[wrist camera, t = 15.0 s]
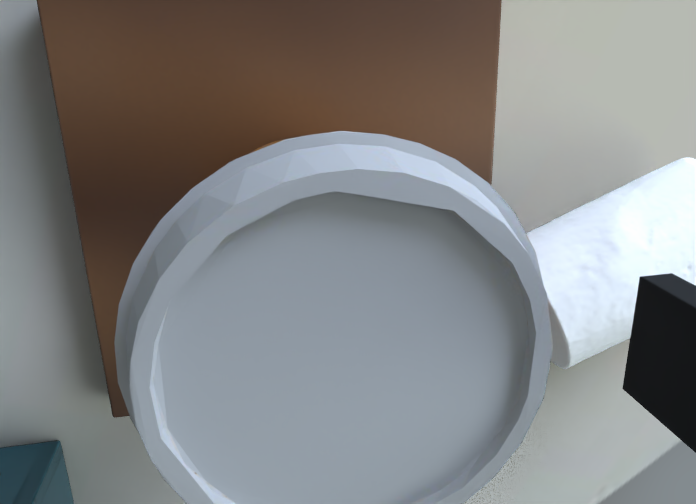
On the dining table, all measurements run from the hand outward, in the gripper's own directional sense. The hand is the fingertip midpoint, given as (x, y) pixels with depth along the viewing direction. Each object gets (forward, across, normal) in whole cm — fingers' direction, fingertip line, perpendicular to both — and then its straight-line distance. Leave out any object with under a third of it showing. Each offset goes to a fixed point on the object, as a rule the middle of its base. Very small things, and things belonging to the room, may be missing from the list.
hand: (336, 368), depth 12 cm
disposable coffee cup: (+12, 0, 0) cm, 12 cm away
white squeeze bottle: (+13, +16, -2) cm, 21 cm away
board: (+14, 0, 0) cm, 14 cm away
